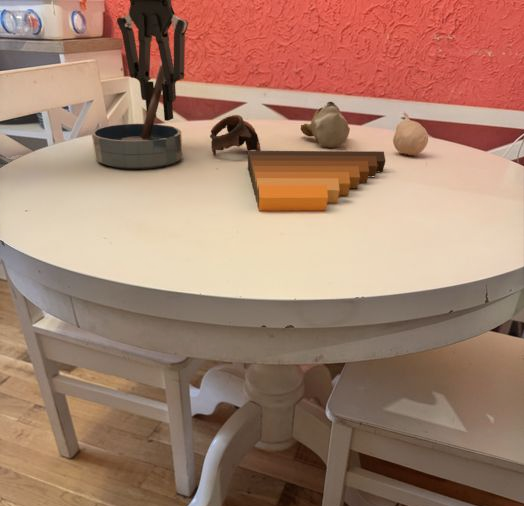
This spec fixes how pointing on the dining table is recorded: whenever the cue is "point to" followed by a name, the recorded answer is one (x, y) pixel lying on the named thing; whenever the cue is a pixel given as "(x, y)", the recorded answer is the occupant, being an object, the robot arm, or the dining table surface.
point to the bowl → (137, 146)
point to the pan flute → (308, 176)
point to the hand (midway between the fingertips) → (160, 118)
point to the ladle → (151, 110)
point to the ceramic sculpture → (328, 126)
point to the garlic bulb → (410, 137)
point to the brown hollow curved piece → (234, 134)
